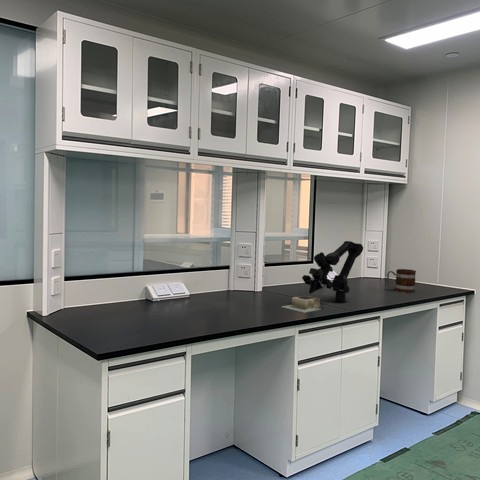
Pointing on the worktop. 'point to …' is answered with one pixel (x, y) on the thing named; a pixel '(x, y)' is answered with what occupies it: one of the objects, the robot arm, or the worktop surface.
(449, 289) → the worktop surface
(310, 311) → the mat
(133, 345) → the worktop surface
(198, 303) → the worktop surface
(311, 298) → the birch block
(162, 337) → the worktop surface
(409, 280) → the mug
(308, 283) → the robot arm
